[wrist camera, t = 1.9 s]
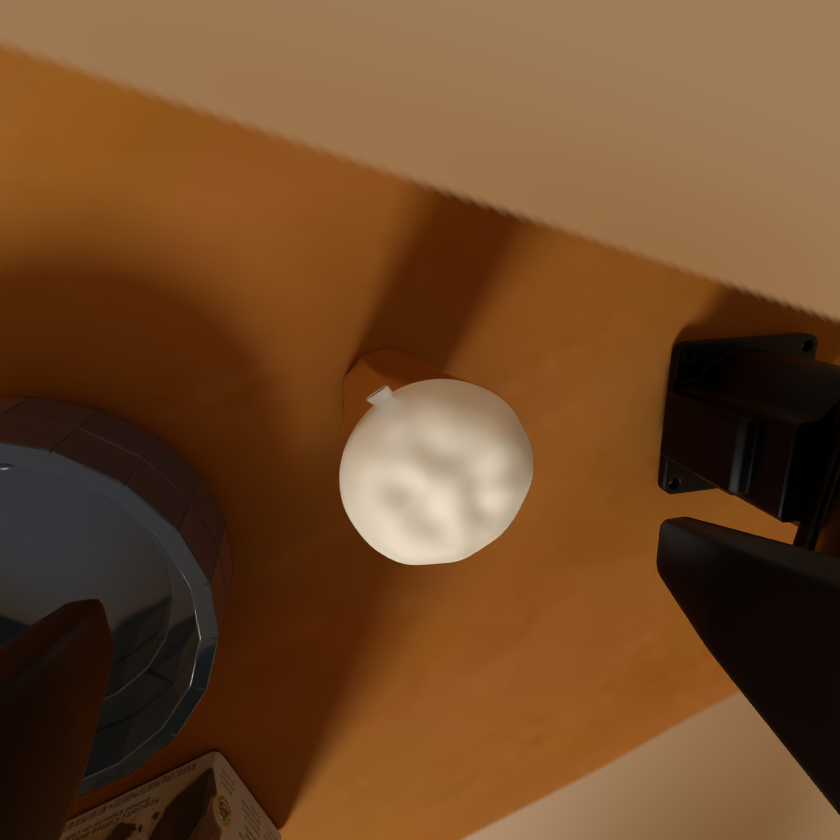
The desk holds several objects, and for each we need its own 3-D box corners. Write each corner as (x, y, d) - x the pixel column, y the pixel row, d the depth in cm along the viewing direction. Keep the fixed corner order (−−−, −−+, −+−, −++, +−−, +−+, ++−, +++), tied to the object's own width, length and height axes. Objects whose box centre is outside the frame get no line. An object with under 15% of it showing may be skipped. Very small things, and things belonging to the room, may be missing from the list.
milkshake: (392, 284, 19) (481, 319, 10) (467, 405, 21) (602, 529, 12) (283, 357, 19) (271, 462, 10) (369, 472, 21) (426, 650, 12)
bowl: (207, 378, 19) (182, 416, 15) (251, 670, 23) (241, 767, 18) (-220, 410, 17) (-394, 465, 12) (-94, 729, 20) (-195, 854, 16)
